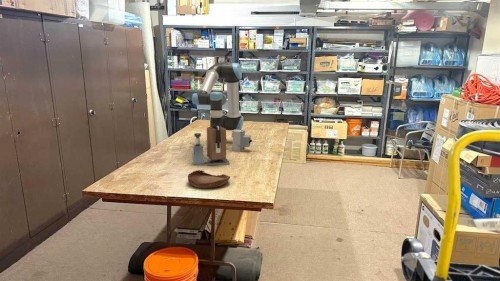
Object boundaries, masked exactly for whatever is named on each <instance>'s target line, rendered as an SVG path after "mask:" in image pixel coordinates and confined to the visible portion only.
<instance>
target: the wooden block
mask: <svg viewBox="0 0 500 281" xmlns="http://www.w3.org/2000/svg"><path fill="white" fill-rule="evenodd" d="M220 127H221V126H220ZM220 132H221V143H220V153H216V143H215V142H216V137H217V135H216V129H214V128H213V127H210V126H208V127H206V155H207V157H206V158H210V159H211V160H220V159H227V143H226V139H227V130H226V129H225V128H223V127H221V128H220ZM218 141H219V140H218Z"/></svg>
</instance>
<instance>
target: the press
mask: <svg viewBox="0 0 500 281" xmlns="http://www.w3.org/2000/svg"><path fill="white" fill-rule="evenodd" d="M192 164H193V166H199V165H201V166H202V165H206V166H207V167H211V166H229V165H230V161H229V160H228V159H227V158H226V159H220V160H211V159H210V158H209V157H204V145H203V143H200V146H196V143H195V144H192Z"/></svg>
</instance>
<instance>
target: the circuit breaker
mask: <svg viewBox="0 0 500 281" xmlns="http://www.w3.org/2000/svg"><path fill="white" fill-rule="evenodd" d="M231 138H232V144H231V152H237V153H238V152H239V153H243V152H244V151H245V149H246V148H249V147H250V146H251V143H252V142H253V139H251V138H252V136H251V134H246V130H245V129H241V130H235V129H234V130H233V131H231Z"/></svg>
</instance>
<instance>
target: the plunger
mask: <svg viewBox="0 0 500 281" xmlns="http://www.w3.org/2000/svg"><path fill="white" fill-rule="evenodd" d="M201 136H202V134H201V133H200V132H195V133H194V137H195V144H196V146H200V144H201V143H200V141H201V139H200V137H201Z"/></svg>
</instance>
